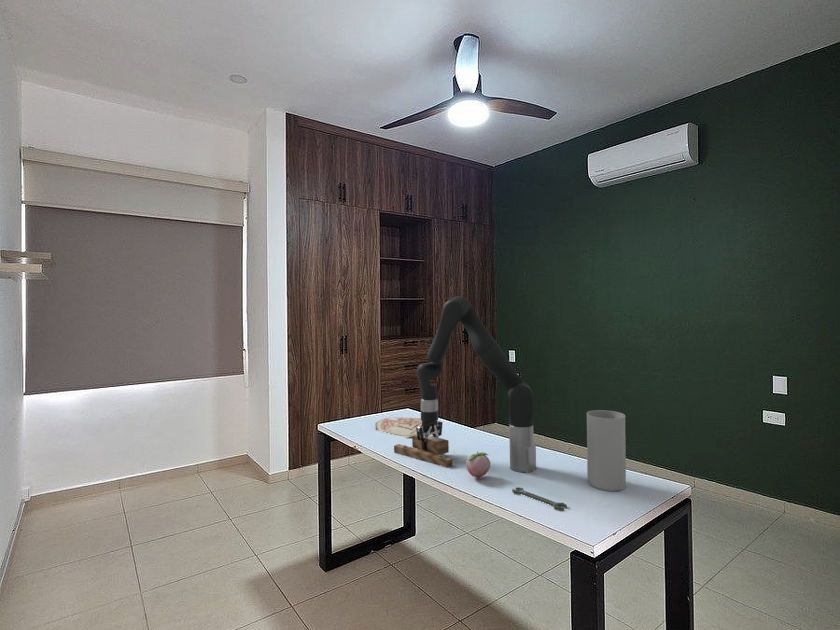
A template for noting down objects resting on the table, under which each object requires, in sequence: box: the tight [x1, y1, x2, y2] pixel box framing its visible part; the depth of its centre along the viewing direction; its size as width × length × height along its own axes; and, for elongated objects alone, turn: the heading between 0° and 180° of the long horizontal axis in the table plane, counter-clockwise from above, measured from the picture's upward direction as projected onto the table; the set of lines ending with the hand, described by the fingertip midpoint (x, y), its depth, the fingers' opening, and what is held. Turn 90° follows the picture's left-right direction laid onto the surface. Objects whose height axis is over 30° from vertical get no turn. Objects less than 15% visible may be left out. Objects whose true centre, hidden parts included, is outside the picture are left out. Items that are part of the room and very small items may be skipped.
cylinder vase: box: [586, 409, 627, 492], centre depth 158 cm, size 12×12×25 cm
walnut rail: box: [393, 443, 454, 469], centre depth 189 cm, size 30×3×4 cm, turn 49°
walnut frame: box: [411, 434, 450, 456], centre depth 193 cm, size 16×6×5 cm, turn 44°
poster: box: [375, 416, 422, 439], centre depth 237 cm, size 28×6×30 cm
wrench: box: [511, 486, 568, 512], centre depth 148 cm, size 5×20×1 cm, turn 40°
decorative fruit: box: [465, 451, 491, 479], centre depth 167 cm, size 9×8×10 cm
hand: (429, 447), depth 193 cm, fingers closed on walnut frame, 6 cm apart
